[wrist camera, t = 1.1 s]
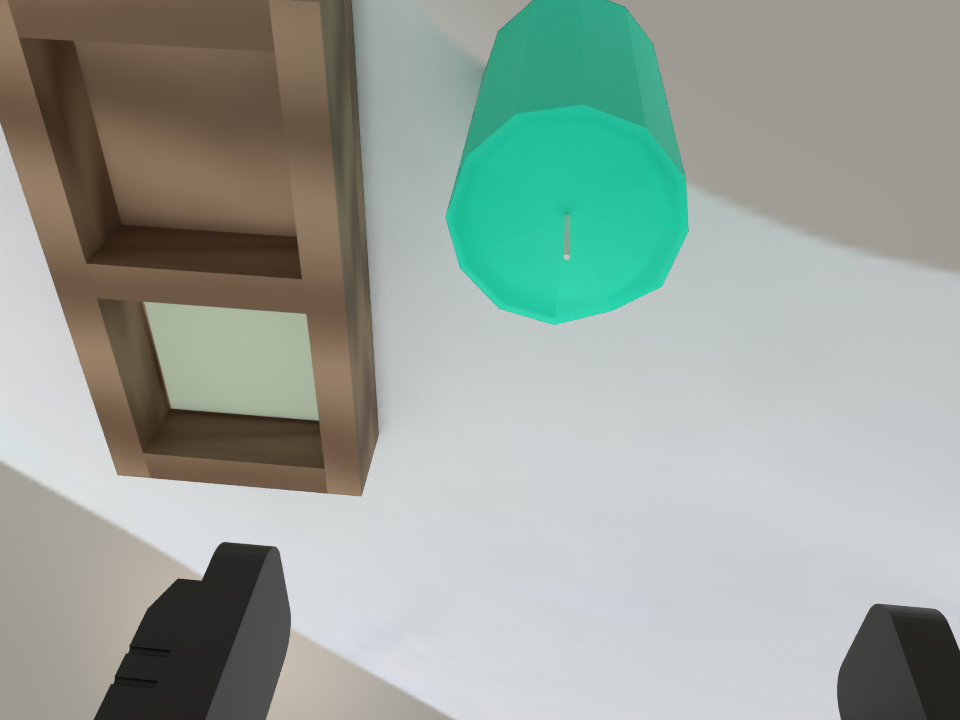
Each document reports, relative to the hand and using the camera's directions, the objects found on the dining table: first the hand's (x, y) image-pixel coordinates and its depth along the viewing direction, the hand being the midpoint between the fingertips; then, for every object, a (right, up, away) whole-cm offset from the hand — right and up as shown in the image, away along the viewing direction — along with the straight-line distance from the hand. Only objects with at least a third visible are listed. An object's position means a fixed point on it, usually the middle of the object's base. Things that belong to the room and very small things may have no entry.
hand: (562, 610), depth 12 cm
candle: (+2, +13, +17) cm, 22 cm away
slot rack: (-11, +8, +22) cm, 26 cm away
